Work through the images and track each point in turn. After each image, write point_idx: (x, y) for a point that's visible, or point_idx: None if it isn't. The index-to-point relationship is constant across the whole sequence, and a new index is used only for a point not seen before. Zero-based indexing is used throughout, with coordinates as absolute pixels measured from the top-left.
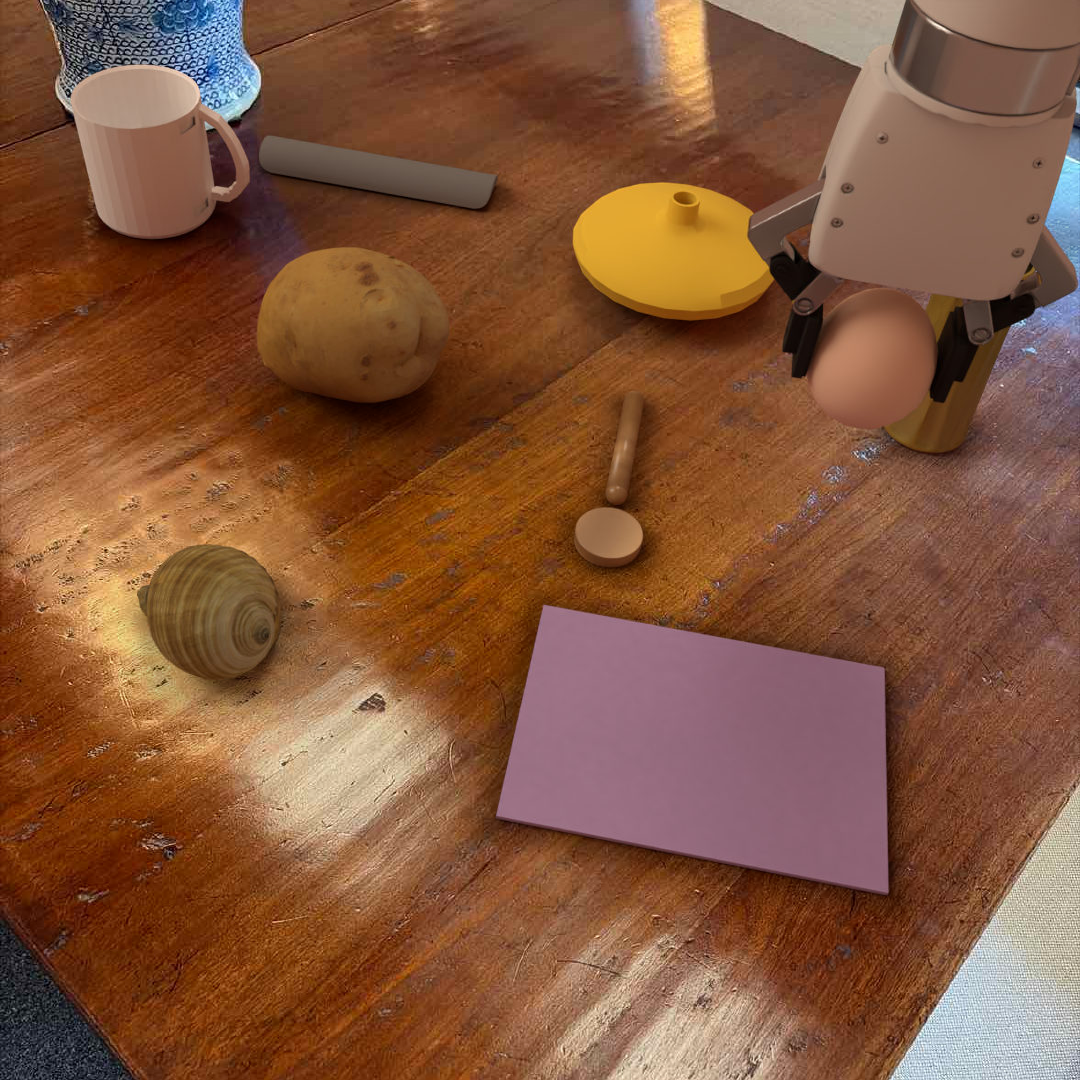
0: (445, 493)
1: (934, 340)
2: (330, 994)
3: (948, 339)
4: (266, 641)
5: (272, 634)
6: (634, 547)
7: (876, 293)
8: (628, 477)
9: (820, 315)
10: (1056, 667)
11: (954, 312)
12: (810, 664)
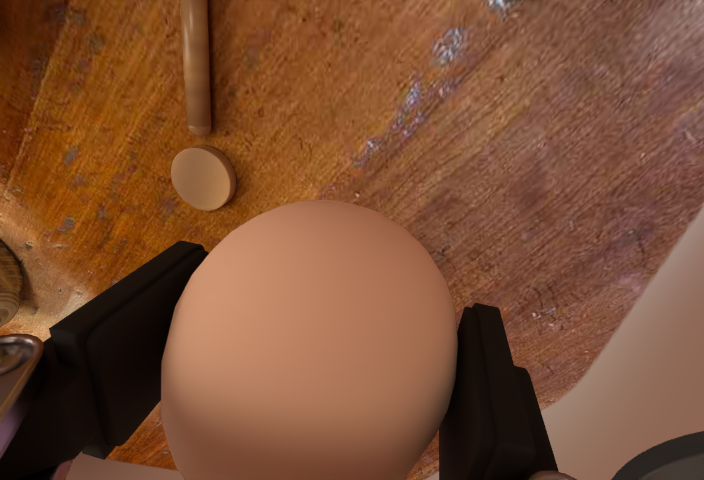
0: (64, 127)
1: (415, 462)
2: (141, 444)
3: (454, 471)
4: (1, 319)
5: (5, 306)
6: (224, 197)
7: (198, 468)
8: (202, 106)
9: (107, 431)
10: (616, 305)
11: (490, 450)
12: None
